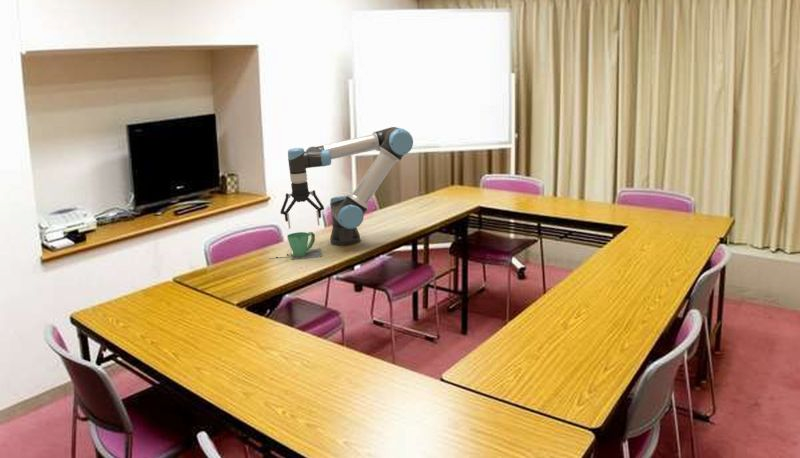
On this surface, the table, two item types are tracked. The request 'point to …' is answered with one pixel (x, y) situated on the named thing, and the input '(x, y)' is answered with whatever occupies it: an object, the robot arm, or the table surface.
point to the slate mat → (308, 254)
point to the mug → (300, 242)
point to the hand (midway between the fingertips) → (304, 226)
